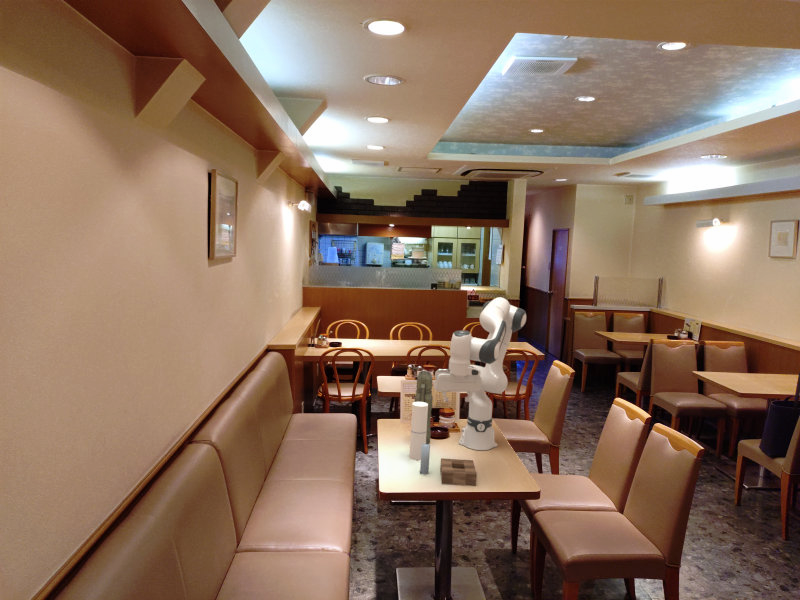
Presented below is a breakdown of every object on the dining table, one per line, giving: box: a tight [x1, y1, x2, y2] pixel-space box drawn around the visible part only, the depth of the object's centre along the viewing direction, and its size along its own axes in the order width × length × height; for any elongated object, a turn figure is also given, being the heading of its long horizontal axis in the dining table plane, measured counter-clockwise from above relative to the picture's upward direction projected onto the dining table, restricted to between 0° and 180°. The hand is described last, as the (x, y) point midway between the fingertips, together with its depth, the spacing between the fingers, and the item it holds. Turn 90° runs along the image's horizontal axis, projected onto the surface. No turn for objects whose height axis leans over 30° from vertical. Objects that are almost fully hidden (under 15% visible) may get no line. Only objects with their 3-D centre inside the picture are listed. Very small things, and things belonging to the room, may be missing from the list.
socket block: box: [439, 458, 478, 487], centre depth 230 cm, size 14×14×5 cm
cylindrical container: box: [409, 401, 428, 461], centre depth 248 cm, size 7×7×25 cm
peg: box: [419, 443, 431, 475], centre depth 232 cm, size 4×4×12 cm
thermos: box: [414, 370, 434, 445], centre depth 266 cm, size 9×12×35 cm
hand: (456, 401), depth 229 cm, fingers open, 8 cm apart
